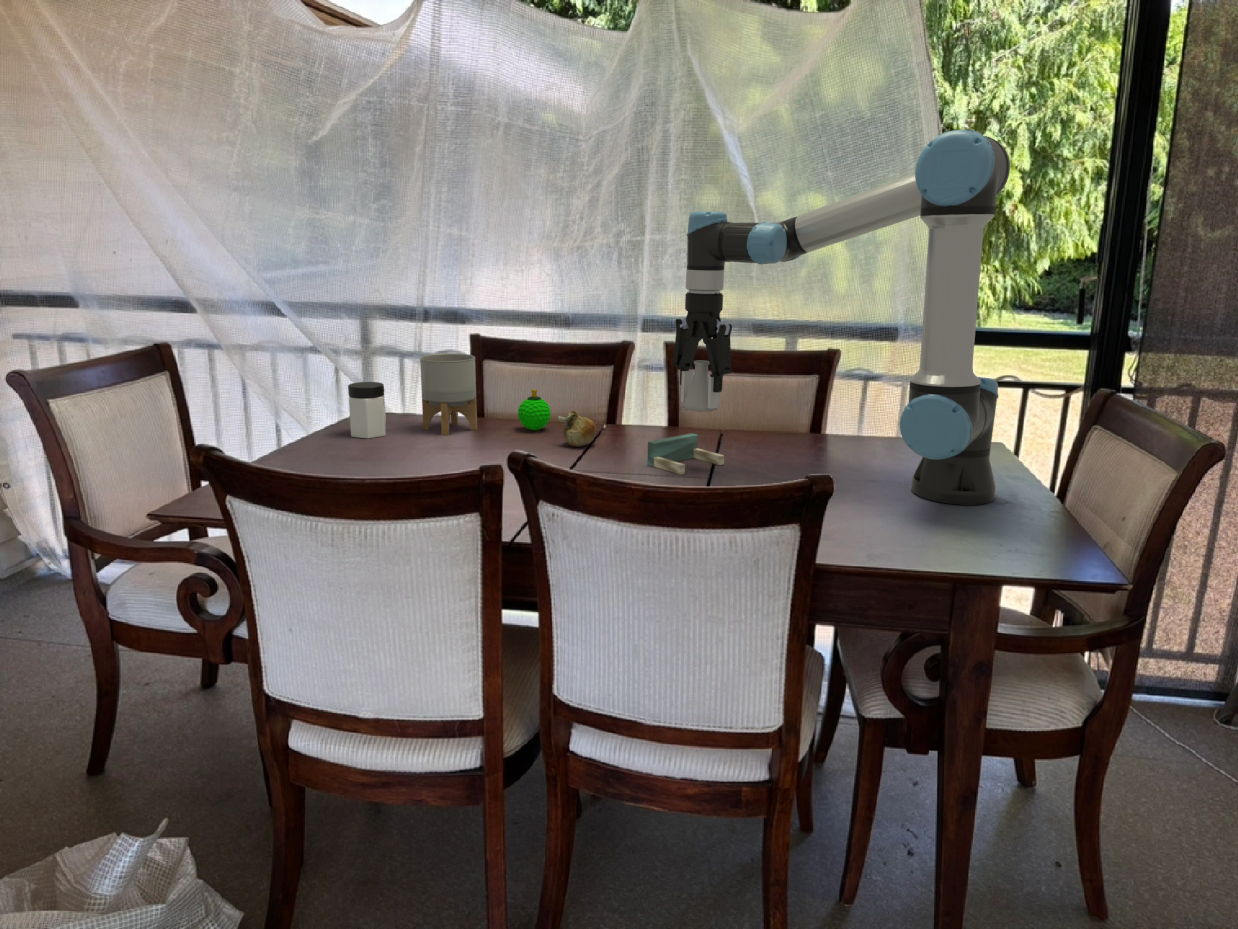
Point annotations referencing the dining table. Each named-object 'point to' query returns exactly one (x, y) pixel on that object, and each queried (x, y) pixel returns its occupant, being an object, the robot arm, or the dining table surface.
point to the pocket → (678, 453)
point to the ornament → (534, 412)
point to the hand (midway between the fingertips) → (699, 404)
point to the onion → (578, 429)
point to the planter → (448, 389)
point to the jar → (367, 409)
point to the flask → (698, 389)
